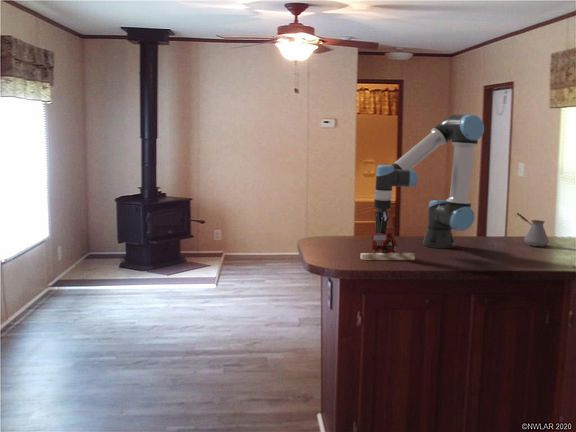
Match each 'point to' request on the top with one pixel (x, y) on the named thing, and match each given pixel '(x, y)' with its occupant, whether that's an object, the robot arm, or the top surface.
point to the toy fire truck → (383, 243)
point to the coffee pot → (535, 233)
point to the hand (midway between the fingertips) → (379, 250)
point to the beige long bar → (387, 256)
